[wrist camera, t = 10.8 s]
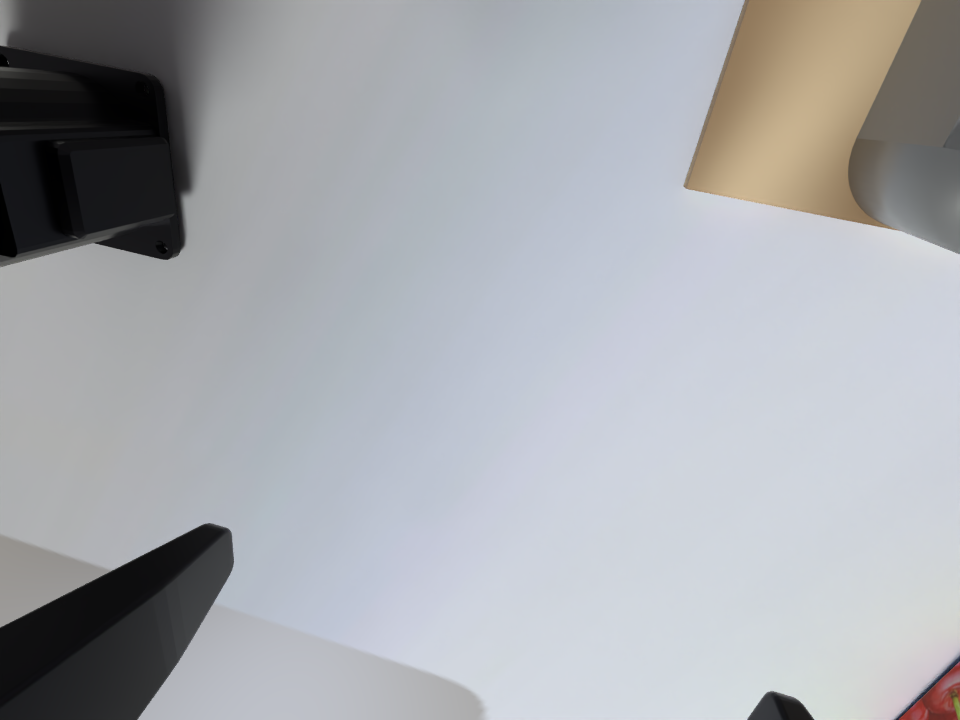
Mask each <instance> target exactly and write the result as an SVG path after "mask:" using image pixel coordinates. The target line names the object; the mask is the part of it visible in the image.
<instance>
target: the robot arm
mask: <svg viewBox="0 0 960 720" xmlns="http://www.w3.org/2000/svg"><path fill="white" fill-rule="evenodd" d="M7 60H8V62H7ZM8 63H9V64H8ZM145 84H146V85H147V87H148V90H149V94H148V95H147V94H146V93H145V89H144V86H145ZM163 242H164V243H165V244H166V246H167V249H166V248H165V247H164V244H163ZM91 243H95V244H100V245H104V246H108V247H112V248H116V249H121V250H125V251H129V252H133V253H137V254H142V255H146V256H150V257H154V258H158V259H163V260H168V259H171V258H174V257H176V256H178V255H179V253H180V238H179V229H178V220H177V210H176V201H175V192H174V182H173V173H172V164H171V154H170V145H169V136H168V126H167V117H166V108H165V98H164V91H163V87H162V85H161V83H160V82H159V80H158V79H157V78H156V77H155V76H153V75H151V74H147V73H142V72H137V71H132V70H127V69H122V68H117V67H111V66H106V65H101V64H96V63H91V62H86V61H81V60H75V59H70V58H65V57H60V56H55V55H50V54H45V53H40V52H34V51H29V50H24V49H19V48H14V47H8V46H0V267H3V266H7V265H10V264H14V263H18V262H22V261H26V260H30V259H33V258H37V257H41V256H45V255H49V254H53V253H57V252H60V251H64V250H68V249H72V248H76V247H80V246H84V245H87V244H91ZM233 564H234V555H233V543H232V533H231V531H230V530H229V529H228V528H225V527H222V526H219V525H215V524H211V523H208V524H204V525H201V526H199V527H197V528H195V529H193V530H191V531H189V532H187V533H185V534H183V535H181V536H179V537H177V538H176V539H174V540H172V541H170V542H168V543H166V544H164V545H162V546H160V547H158V548H156V549H154V550H152V551H150V552H148V553H146V554H144V555H142V556H140V557H138V558H136V559H134V560H132V561H130V562H128V563H126V564H124V565H122V566H120V567H118V568H117V569H115V570H113V571H111V572H109V573H107V574H105V575H103V576H101V577H99V578H97V579H95V580H93V581H91V582H89V583H87V584H85V585H83V586H81V587H79V588H77V589H75V590H73V591H72V592H69V593H67V594H65V595H63V596H61V597H60V598H58V599H56V600H54V601H52V602H50V603H48V604H46V605H44V606H42V607H40V608H38V609H36V610H34V611H32V612H30V613H28V614H26V615H24V616H22V617H20V618H18V619H16V620H14V621H12V622H10V623H9V624H6V625H5V626H2V627H1V628H0V720H137V719H138V718H139V717H140V715H141V714H142V712H143V711H144V710H145V708H146V707H147V705H148V704H149V703H150V701H151V700H152V698H153V697H154V696H155V694H156V693H157V691H158V690H159V688H160V687H161V686H162V685H163V683H164V682H165V680H166V679H167V678H168V676H169V675H170V673H171V672H172V670H173V669H174V667H175V666H176V665H177V663H178V662H179V660H180V658H181V657H182V655H183V654H184V652H185V650H186V649H187V647H188V645H189V644H190V642H191V640H192V639H193V637H194V635H195V633H196V632H197V630H198V628H199V627H200V625H201V623H202V622H203V620H204V618H205V616H206V615H207V613H208V611H209V610H210V608H211V606H212V605H213V603H214V601H215V599H216V598H217V596H218V594H219V593H220V591H221V589H222V588H223V586H224V584H225V582H226V581H227V579H228V577H229V575H230V573H231V571H232V568H233ZM748 720H814V719H813V717H812V716H811V715H810V713H809V712H808V710H807V709H806V708H805V707H804V705H803V704H802V703H801V702H800V701H799V700H797V699H796V698H794V697H791V696H787V695H784V694H781V693H777V692H774V691H770V692H767V693H766V694H765V695H764V696H763V698H762V699H761V701H760V702H759V703H758V705H757V706H756V708H755V709H754V710H753V712H752V713H751V715H750V716H749V717H748Z"/></svg>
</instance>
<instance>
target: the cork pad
mask: <svg viewBox="0 0 960 720" xmlns="http://www.w3.org/2000/svg"><path fill="white" fill-rule="evenodd" d="M920 2H921V0H745V2H744V5H743V8H742V11H741V14H740V17H739V20H738V23H737V26H736V29H735V32H734V35H733V38H732V41H731V44H730V47H729V50H728V53H727V56H726V59H725V62H724V65H723V68H722V71H721V74H720V77H719V80H718V83H717V86H716V89H715V92H714V95H713V99H712V102H711V105H710V108H709V111H708V114H707V117H706V120H705V123H704V126H703V129H702V132H701V135H700V138H699V141H698V144H697V147H696V150H695V153H694V156H693V159H692V162H691V165H690V168H689V171H688V174H687V177H686V180H685V183H684V187H685V188H686V189H690V190H695V191H700V192H705V193H710V194H715V195H720V196H726V197H731V198H736V199H741V200H746V201H751V202H756V203H761V204H766V205H771V206H776V207H781V208H787V209H792V210H797V211H802V212H807V213H812V214H817V215H822V216H827V217H832V218H837V219H842V220H847V221H853V222H858V223H863V224H868V225H873V226H878V227H883V228H888V229H893V230H897V229H895V228H892V227H890V226H887V225H885V224H882V223H880V222H878V221H876V220H874V219H873V218H871V217H870V216H868V215H867V214H866V213H865V212H864V211H863V210H862V209H861V208H860V207H859V205H858V204H857V203H856V201H855V199H854V197H853V195H852V192H851V189H850V186H849V180H848V166H849V159H850V155H851V151H852V148H853V145H854V143H855V140H856V138H857V136H858V134H859V132H860V130H861V127H862V125H863V123H864V121H865V119H866V117H867V115H868V113H869V110H870V108H871V106H872V104H873V102H874V100H875V98H876V96H877V94H878V91H879V89H880V87H881V85H882V83H883V81H884V79H885V77H886V74H887V72H888V70H889V68H890V66H891V64H892V62H893V60H894V58H895V55H896V53H897V51H898V49H899V47H900V45H901V43H902V41H903V38H904V36H905V34H906V32H907V30H908V28H909V26H910V24H911V22H912V19H913V17H914V15H915V13H916V11H917V9H918V7H919V5H920ZM898 231H900V230H898Z"/></svg>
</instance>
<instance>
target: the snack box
mask: <svg viewBox="0 0 960 720" xmlns="http://www.w3.org/2000/svg"><path fill="white" fill-rule="evenodd" d="M899 720H960V662H958V663H957V664H956V665H955V666H954V667H953V668H952V669H951V670H950V671H949V672H948V673H947V674H946V675H945V676H944V677H943V678H942V679H940V680H939V681H938V682H937V683H936V684H935V685H934V686H933V687H932V688H931V689H930V690H929V691H928V692H927V693H926V694H925V695H924V696H923V697H922V698H921V699H920V700H918V701H917V702H916V703H915V704H914V705H913V706H912V707H911V708H910V709H909V710H908V711H907V712H906V713H905V714H904V715H903V716H902V717H901V718H900V719H899Z"/></svg>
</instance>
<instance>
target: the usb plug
mask: <svg viewBox="0 0 960 720" xmlns="http://www.w3.org/2000/svg"><path fill="white" fill-rule="evenodd" d="M848 180H849V186H850V189H851V192H852V195H853V197H854V199H855V201H856V203H857V204H858V205H859V207H860V208H861V209H862V210H863V211H864V212H865V213H866V214H867V215H868V216H870V217H871V218H873V219H874V220H876V221H878V222H880V223H882V224H885V225H887V226H890V227H892V228H895V229H897V230H900V231H902V232H905V233H907V234H910V235H912V236H915V237H918V238H920V239H923V240H925V241H928V242H930V243H933V244H935V245H938V246H940V247H943V248H945V249H948V250H950V251H953V252H955V253H958V254H960V0H921V2H920V5H919V7H918V9H917V11H916V13H915V15H914V17H913V19H912V22H911V24H910V26H909V28H908V30H907V32H906V34H905V36H904V38H903V41H902V43H901V45H900V47H899V49H898V51H897V53H896V55H895V58H894V60H893V62H892V64H891V66H890V68H889V70H888V72H887V74H886V77H885V79H884V81H883V83H882V85H881V87H880V89H879V91H878V94H877V96H876V98H875V100H874V102H873V104H872V106H871V108H870V110H869V113H868V115H867V117H866V119H865V121H864V123H863V125H862V127H861V130H860V132H859V134H858V136H857V138H856V140H855V143H854V145H853V148H852V151H851V155H850V159H849V166H848Z"/></svg>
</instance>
